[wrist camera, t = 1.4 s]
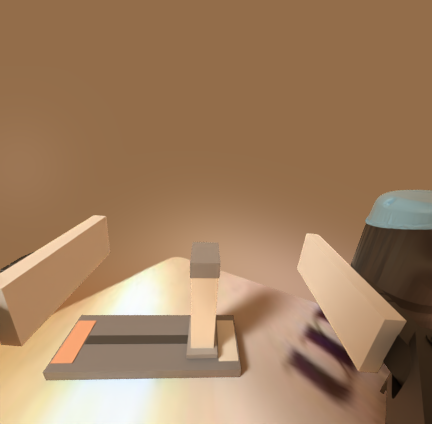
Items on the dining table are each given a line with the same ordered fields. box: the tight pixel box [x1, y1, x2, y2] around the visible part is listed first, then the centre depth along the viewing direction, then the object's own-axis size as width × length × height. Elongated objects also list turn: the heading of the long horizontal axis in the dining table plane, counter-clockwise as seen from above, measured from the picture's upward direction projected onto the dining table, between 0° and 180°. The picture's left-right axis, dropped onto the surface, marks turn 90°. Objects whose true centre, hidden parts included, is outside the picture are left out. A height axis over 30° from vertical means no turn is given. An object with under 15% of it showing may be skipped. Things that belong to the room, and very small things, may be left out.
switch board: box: [43, 315, 241, 380], centre depth 29 cm, size 24×8×2 cm, turn 92°
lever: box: [186, 242, 220, 359], centre depth 26 cm, size 4×6×14 cm
